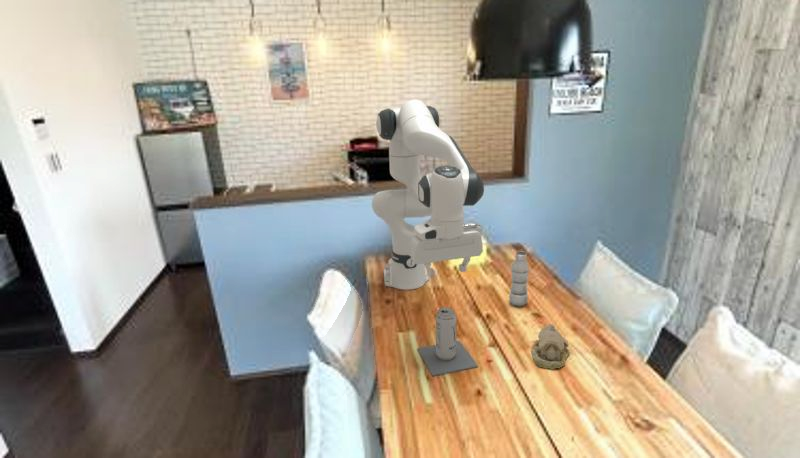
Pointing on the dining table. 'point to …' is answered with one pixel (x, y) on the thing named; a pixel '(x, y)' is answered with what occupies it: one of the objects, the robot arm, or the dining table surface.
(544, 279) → the dining table surface
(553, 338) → the ceramic model
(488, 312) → the dining table surface
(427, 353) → the mat
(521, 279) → the plastic bottle
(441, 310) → the energy drink can
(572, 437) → the dining table surface
